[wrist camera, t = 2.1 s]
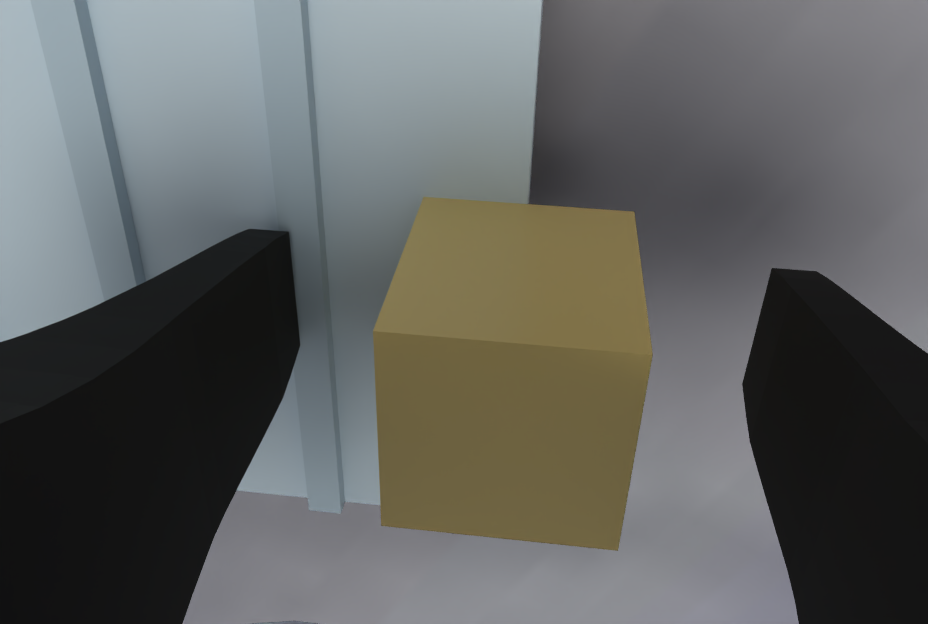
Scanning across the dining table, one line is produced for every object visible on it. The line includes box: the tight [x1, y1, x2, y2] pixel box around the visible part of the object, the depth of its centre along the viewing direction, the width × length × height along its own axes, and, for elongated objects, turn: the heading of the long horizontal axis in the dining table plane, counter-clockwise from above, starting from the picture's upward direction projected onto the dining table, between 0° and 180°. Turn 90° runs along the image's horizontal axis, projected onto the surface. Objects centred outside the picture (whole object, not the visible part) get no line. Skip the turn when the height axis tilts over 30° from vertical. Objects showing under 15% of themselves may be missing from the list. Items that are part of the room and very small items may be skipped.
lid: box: [0, 0, 653, 551], centre depth 12 cm, size 10×14×4 cm
